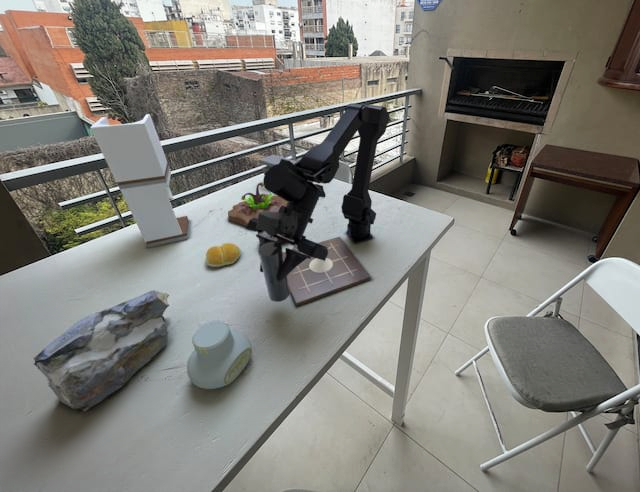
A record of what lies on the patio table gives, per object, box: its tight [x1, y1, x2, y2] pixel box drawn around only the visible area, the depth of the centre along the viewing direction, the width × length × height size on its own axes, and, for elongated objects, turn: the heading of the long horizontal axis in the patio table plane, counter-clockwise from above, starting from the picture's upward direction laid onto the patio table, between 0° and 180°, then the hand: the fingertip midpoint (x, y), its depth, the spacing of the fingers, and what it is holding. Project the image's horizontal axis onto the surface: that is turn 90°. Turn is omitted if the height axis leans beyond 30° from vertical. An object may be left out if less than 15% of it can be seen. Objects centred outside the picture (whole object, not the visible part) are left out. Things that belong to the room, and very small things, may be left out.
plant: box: [227, 181, 288, 228], centre depth 99 cm, size 20×20×11 cm
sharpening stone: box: [258, 154, 314, 183], centre depth 117 cm, size 25×8×11 cm, turn 56°
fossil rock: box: [33, 289, 170, 413], centre depth 52 cm, size 20×10×15 cm, turn 153°
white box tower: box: [89, 113, 190, 248], centre depth 81 cm, size 11×11×35 cm
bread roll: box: [205, 242, 242, 268], centre depth 80 cm, size 8×9×4 cm
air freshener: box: [186, 319, 253, 390], centre depth 51 cm, size 11×8×10 cm
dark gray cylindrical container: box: [257, 242, 291, 303], centre depth 60 cm, size 5×5×13 cm
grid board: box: [283, 236, 371, 307], centre depth 78 cm, size 20×20×1 cm
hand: (270, 276), depth 59 cm, fingers closed on dark gray cylindrical container, 4 cm apart
